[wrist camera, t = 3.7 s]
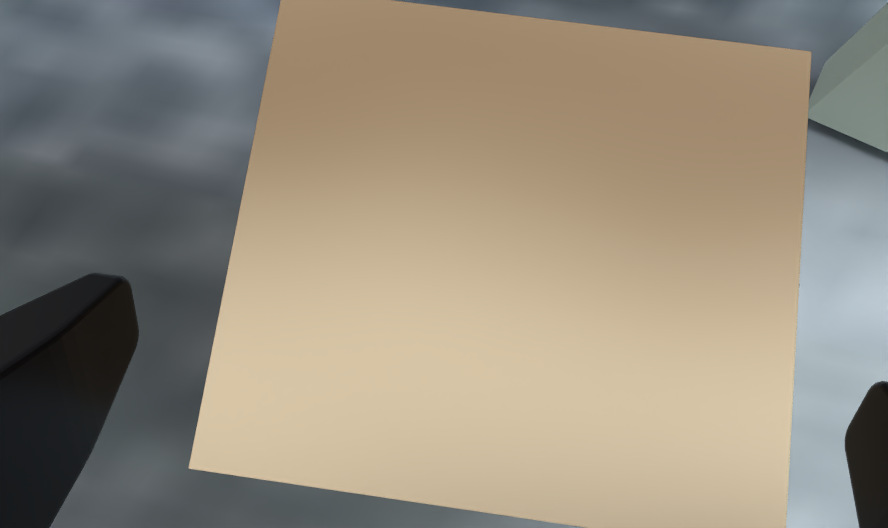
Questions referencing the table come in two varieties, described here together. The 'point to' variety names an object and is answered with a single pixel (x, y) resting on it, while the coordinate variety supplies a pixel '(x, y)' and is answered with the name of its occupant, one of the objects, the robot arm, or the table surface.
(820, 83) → the door
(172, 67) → the table surface
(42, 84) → the table surface
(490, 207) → the block
